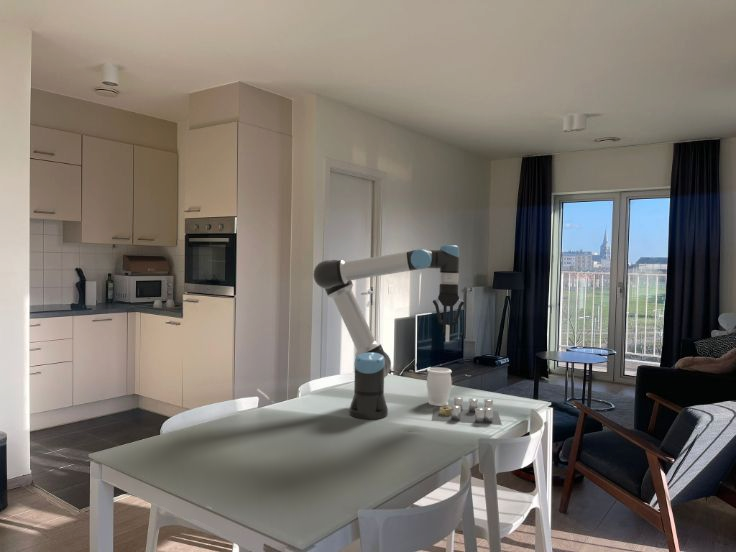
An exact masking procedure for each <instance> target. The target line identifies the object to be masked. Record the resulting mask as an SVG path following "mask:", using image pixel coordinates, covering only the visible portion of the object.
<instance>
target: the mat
mask: <svg viewBox="0 0 736 552" xmlns="http://www.w3.org/2000/svg"><path fill="white" fill-rule="evenodd" d="M468 411H469V409H465V408H462V411H461V419H460V420H459V421H454V420H451V415H450V416H444V415H440V407H434V406H433V408H432V415H431V421H432V422H445V423H446V422H447V423H460V424H461V423H463V424H465V423H466V424H478V425H479V424H481V425H497V426H503V425H502V421H501V416H500V415H499V414H500V413H499V412H498V411H497V410H493V422H492V423H476V422H475V413H470V412H468Z"/></svg>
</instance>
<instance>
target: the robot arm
mask: <svg viewBox="0 0 736 552" xmlns="http://www.w3.org/2000/svg"><path fill="white" fill-rule="evenodd" d="M459 247H460V246H458V245H451V244H450V245H449V244H448V245H445V244H442V245H441V246H440V249H424V248H419V249H418V248H417V249H412V250H409V251H403V252H396V253H390V254H384V255H379V256H373V257H366V258H361V259H355V260H350V261H349V260H348V261H345V260H343V259H341V260H340V259H339V260H337V259H331V260H330V259H328V260H327V259H326V260H323V261H321V262H319V263H318V264H316V266H315V267H314V270H313V279H314V282H315V283H316V285H317V286H319V287H320V288H321V289H324V290H325V293H326V295H327V296H328V297H329V298H332V299H333V301H334V303H335V305H336V308H337V310H338V312H339V315H340V316H341V319H342V321H343V323H344V325H345V327H346V329H347V331H348V333H349V336H350V338H351V340H352V342H353V345H354V347H355V350H356V352H355V360H354V386H353V387H354V389H353V390H354V394H353V397H352V401H351V402H350V406H349V415H350V416H351V417H354V418H357V419H363V420H377V419H383V418H385V417H388V413H389V409H388V408H389V407H388V405H387V401H386V399H385V393H384V392H385V390H384V389H385V378H386V377H387V376H388V375H389V373H390V371H391V367H392V361H391V358H390V356H389V354H388V353H387V352H385V350H384V349H383V347H382V344H381V343H380V342H377V341H376V339H375V338H374V335H373V333H372V332H371V331H372V330H371V329H370V327H369V324H368V323H367V320H366V318H365V316H364V313H363V312H362V309H361V307H360V305H359V303H358V300H357V299H356V297H355V295H354V293H353V292H354V291H353V290H352V289H353V286H354V283H353V281H355V280H362V279H366V278H367V279H368V278H375V277H380V276H385V275H386V276H387V275H391V274H392V275H393V274H398V273H403V272H404V273H405V272H410V271H417V270H418V271H419V270H424V269H440V270H439V289H438V293H439V294H438V296H437V298H436V299H433V301H432V303H433V305H434V308H435V311H436V317H437V322H438V324H440V325H442V334H445V342H446V343H450V334H453V326H455V325H457V324H458V322H459V318H460V315H461V311H462V310H461V309H462V307H463V306H464V304H465V301H464V300H462V299H460V296H459V284H458V283H459V277H460V276H459V274H460V273H459V271H460V270H459V269H460V249H459ZM439 303H440V304H441V305H442V307H443V311H442V312H443V314H442V316H441V311H440V308H439ZM456 304H458V307H457V310H456V313H455V314H456V315H455V316H454V317H453V315H454V306H455V305H456ZM448 307H449V324H447V310H448V309H447V308H448ZM442 317H443V318H442ZM453 318H454V319H453Z"/></svg>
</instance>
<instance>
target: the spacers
mask: <svg viewBox="0 0 736 552" xmlns="http://www.w3.org/2000/svg"><path fill="white" fill-rule="evenodd" d="M463 403H464V398H463V397H461V396H454V397H453V405H450V407H451V420H454V421H459V420H460V419H461V411H462V409H463ZM478 405H479V399H478V398H473V397H471V398H468V410H469V411H468V412H470V413H475V422H476V423H475V424H477V423H492V422H493V411H494V400H493V399H490V398H485V399H483V407H479V406H478Z"/></svg>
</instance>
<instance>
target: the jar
mask: <svg viewBox="0 0 736 552" xmlns="http://www.w3.org/2000/svg"><path fill="white" fill-rule="evenodd" d="M426 372H427V373H428V374H427V378H426V388H427V389H426V390H427V395H428V399H429V401H428V404H429V405H431V406H435V407H436V406H437V407H446V406H448V405H449V402H448V401H449V399H450V397H451V396H450V395H451V391H452V376H451V374H452V373H453V371H452V369H450V368H448V367H430V368H427V370H426Z"/></svg>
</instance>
